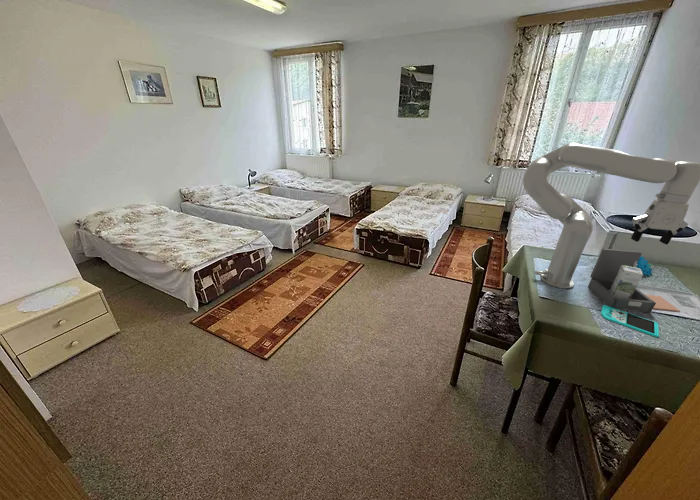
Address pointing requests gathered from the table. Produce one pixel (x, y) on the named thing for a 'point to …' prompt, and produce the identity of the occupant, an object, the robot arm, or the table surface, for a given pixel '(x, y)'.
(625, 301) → the case
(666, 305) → the rubber mat
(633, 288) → the syrup box
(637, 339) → the table surface
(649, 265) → the gear
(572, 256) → the robot arm
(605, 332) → the table surface
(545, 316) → the table surface
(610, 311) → the handheld game console
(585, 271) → the table surface
